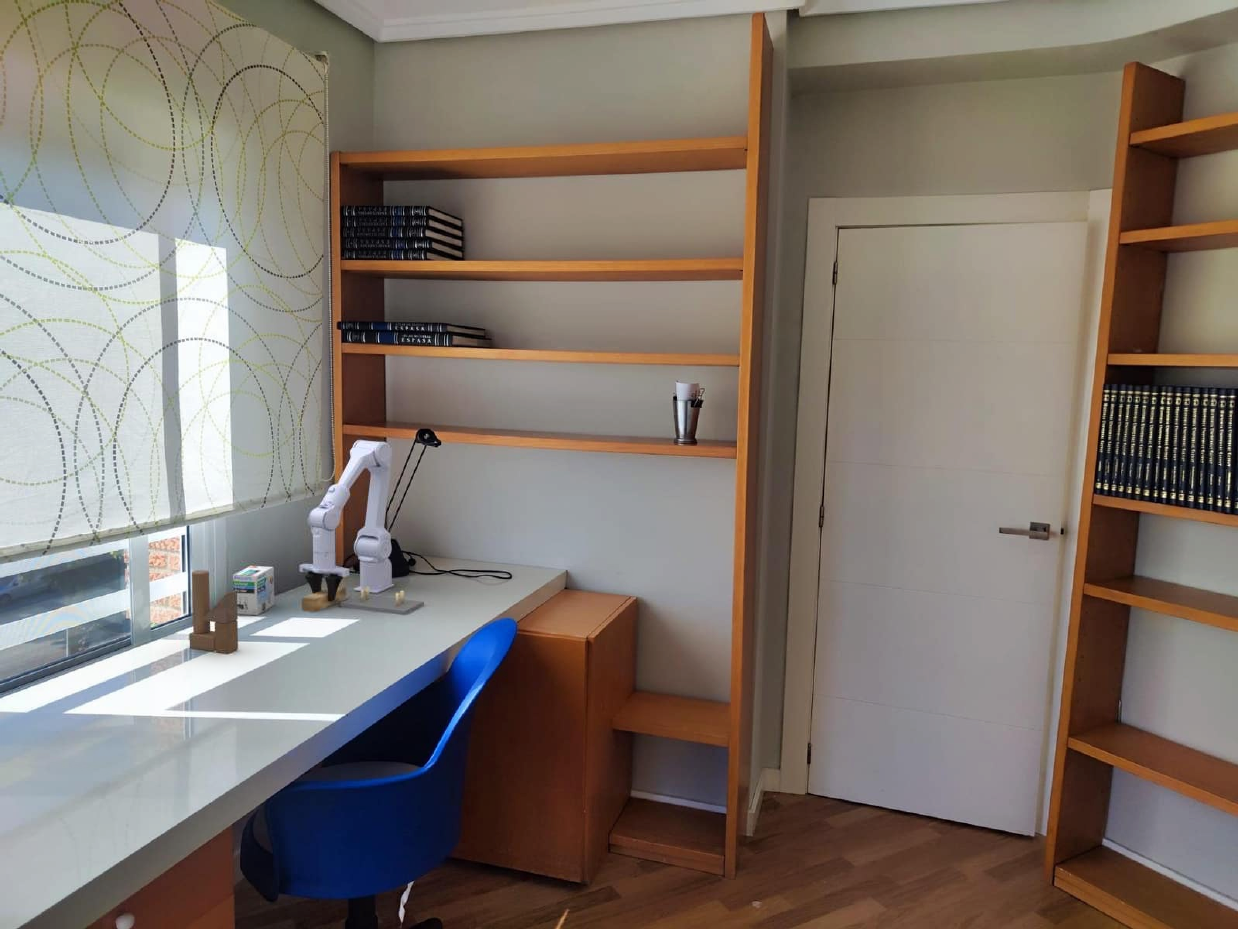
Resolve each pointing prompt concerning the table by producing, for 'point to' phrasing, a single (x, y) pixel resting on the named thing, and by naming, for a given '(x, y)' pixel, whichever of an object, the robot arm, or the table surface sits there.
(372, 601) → the peg stand
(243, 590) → the light bulb box
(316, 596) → the light wood bar
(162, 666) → the table surface
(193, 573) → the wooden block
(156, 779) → the table surface
